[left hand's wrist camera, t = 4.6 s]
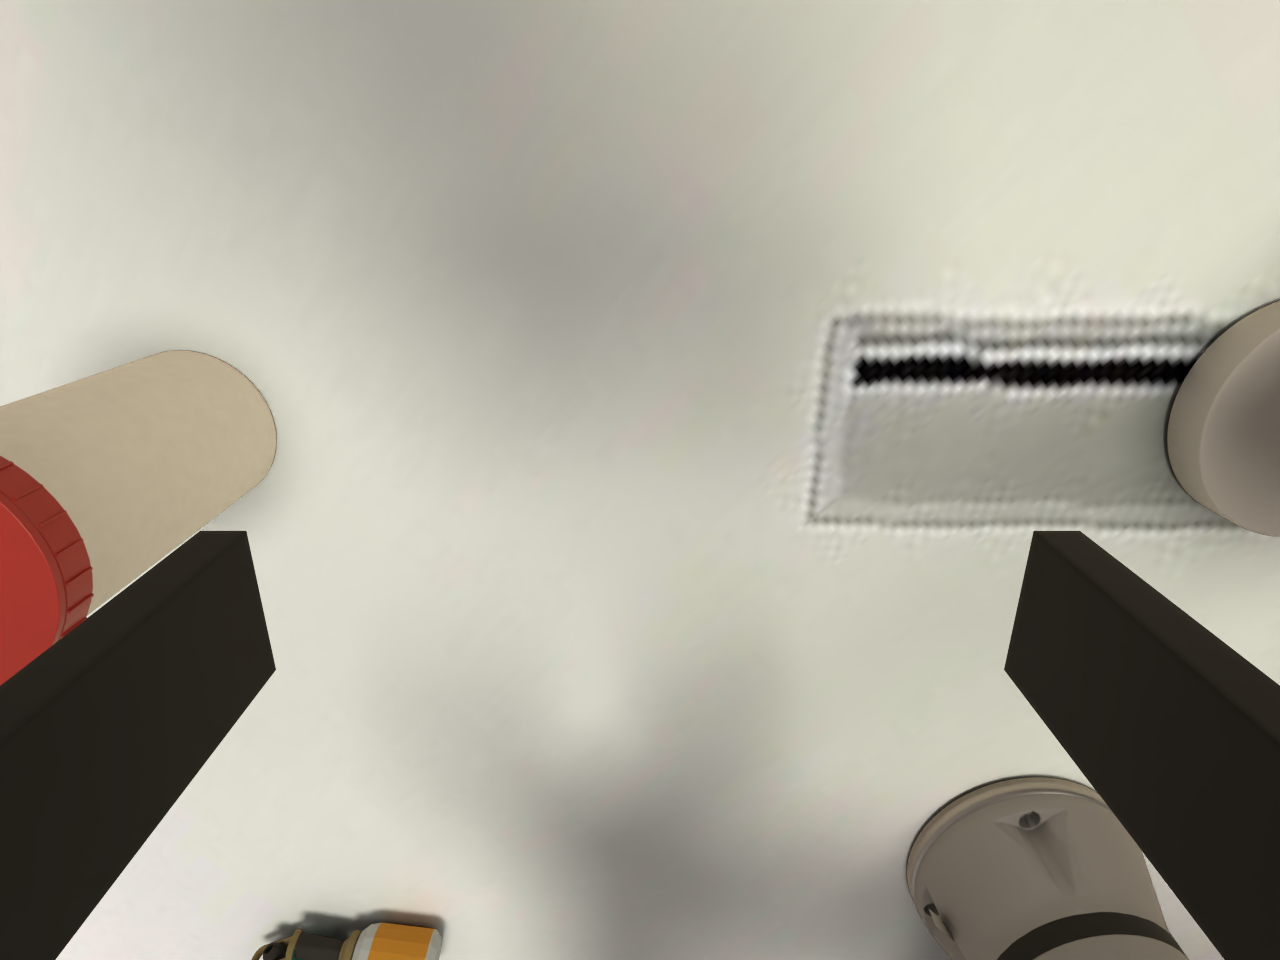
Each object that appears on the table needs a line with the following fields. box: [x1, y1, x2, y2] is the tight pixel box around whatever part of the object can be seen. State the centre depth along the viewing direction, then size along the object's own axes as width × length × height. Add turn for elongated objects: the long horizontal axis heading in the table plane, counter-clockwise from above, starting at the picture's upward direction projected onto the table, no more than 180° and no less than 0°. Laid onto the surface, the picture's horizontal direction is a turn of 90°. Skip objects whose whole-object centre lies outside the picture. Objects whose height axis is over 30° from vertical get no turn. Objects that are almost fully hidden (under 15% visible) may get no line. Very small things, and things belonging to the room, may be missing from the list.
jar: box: [0, 350, 276, 615], centre depth 33 cm, size 9×9×17 cm
